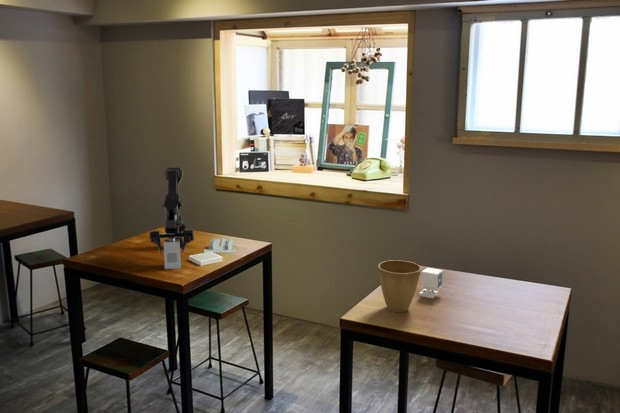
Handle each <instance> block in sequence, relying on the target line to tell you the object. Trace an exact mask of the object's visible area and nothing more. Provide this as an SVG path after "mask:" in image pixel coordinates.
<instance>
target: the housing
mask: <svg viewBox="0 0 620 413" xmlns="http://www.w3.org/2000/svg"><path fill="white" fill-rule="evenodd" d="M163 256H164V258H163V260H164V269H165V270H177V269H181V266H182V264H181V248H180V239H175V238H164V240H163Z"/></svg>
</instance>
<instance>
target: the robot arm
mask: <svg viewBox="0 0 620 413" xmlns="http://www.w3.org/2000/svg"><path fill="white" fill-rule="evenodd" d="M183 170H184V169H182V168H181V167H180V166H173V167H171V166H170V167H167V169H164V177H165V178H166V181H167V183H168V184H167V185H168V186H167V193H166V195H165V196H164V200H163V203H162V208H163V209H164V215H165V222H164V224H165V225H164V233H163V232H162V233H160V230H151V231H149V239H150V242H151V243H153V244H154V245H156V246H157V247H158V250H159V253H160V254H163V252H162V250H163V249H162V242H161V239H168V238H175V239H180V249H181V248H182V249H181V250H182V253H184V252H185V249H186V247H187V246H188V244H189V243H191V242H193V241H194V240H195V232H194V229H190V228H189V229H186V226H187V225H185V223H184V221H183V218H182V217H181V215H180V210H181V209H180V208H182V207H183V202H182V200H181V199H180V190H179V188H180V187H179V186H180V184H181V182H182V179H183V177H184V173H183V172H184V171H183Z"/></svg>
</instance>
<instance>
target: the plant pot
mask: <svg viewBox="0 0 620 413" xmlns="http://www.w3.org/2000/svg"><path fill="white" fill-rule="evenodd" d="M377 268H378V275H379V277H378V278H379V282H380V288H381V292H382V297H383V299H384V302H385V306H386V308H387V310H389V311H390V312H393V313H405V312H407V311H409V308H410V307H411V304H412V301H413V299H414V297H415V294H416V290H417V286H418V284H419V283H418V282H419V280H420V275H421V272H422V271H421V270H422V267H421V266H420V265H419V264H417V263H415V262H412V261H406V260H398V259H396V260H395V259H393V260H385V261H382V262H380V263H378V267H377Z"/></svg>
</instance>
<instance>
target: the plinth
mask: <svg viewBox="0 0 620 413" xmlns="http://www.w3.org/2000/svg"><path fill="white" fill-rule="evenodd" d="M188 260H189V261H190V262H192V263H194V264H196V265H198V266H201V267H202V266H205V265H211V264H215V263H221V262H223V261H224V256H221V255H219V254H218V253H212V252H206V253H203V252H201V253H198V254H192V255H189V256H188Z"/></svg>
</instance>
